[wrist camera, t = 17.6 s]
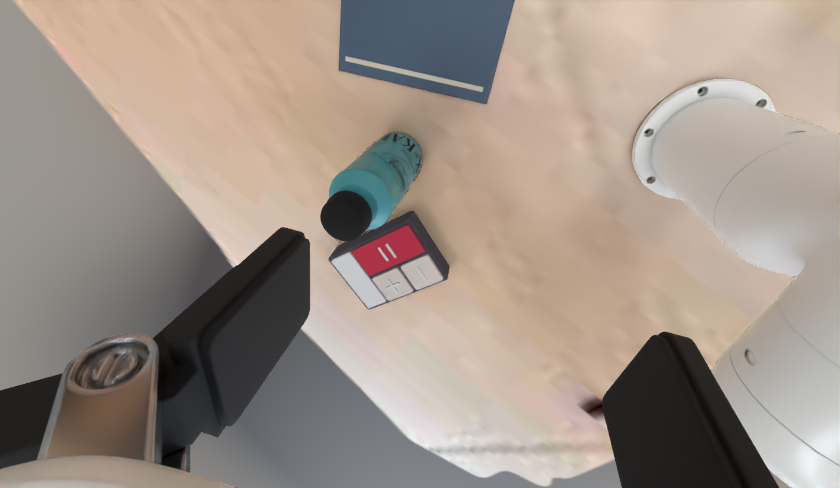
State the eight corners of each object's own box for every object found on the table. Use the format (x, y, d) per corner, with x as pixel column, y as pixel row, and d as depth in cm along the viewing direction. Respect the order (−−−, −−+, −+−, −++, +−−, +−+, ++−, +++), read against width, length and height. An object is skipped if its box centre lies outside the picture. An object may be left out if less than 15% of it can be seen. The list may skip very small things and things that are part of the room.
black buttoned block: (448, 282, 50) (366, 313, 56) (451, 265, 54) (374, 296, 60) (408, 221, 47) (325, 261, 52) (414, 207, 50) (335, 246, 56)
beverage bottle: (402, 185, 48) (345, 269, 31) (368, 147, 46) (289, 216, 30) (437, 156, 45) (395, 233, 28) (402, 114, 43) (335, 171, 27)
